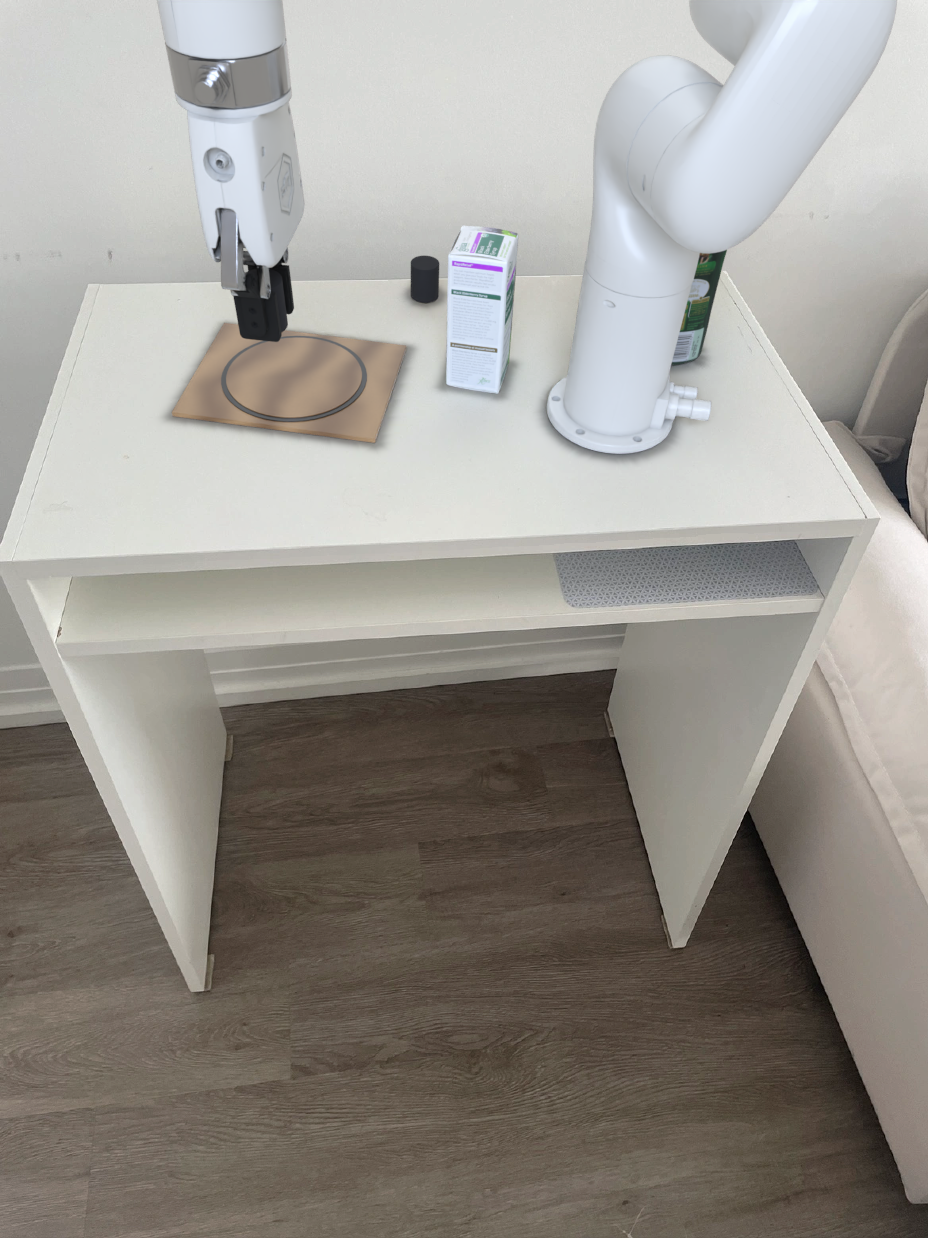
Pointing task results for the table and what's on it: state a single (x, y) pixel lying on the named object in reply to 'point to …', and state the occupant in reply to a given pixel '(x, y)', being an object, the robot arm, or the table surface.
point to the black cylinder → (424, 279)
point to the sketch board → (294, 384)
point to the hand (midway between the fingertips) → (267, 322)
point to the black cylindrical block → (277, 295)
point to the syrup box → (480, 307)
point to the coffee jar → (698, 307)
